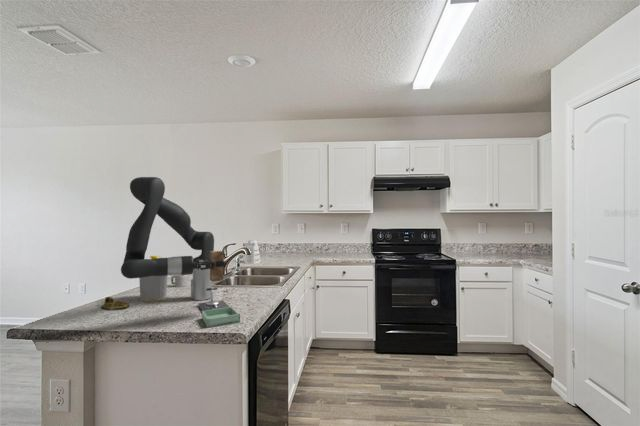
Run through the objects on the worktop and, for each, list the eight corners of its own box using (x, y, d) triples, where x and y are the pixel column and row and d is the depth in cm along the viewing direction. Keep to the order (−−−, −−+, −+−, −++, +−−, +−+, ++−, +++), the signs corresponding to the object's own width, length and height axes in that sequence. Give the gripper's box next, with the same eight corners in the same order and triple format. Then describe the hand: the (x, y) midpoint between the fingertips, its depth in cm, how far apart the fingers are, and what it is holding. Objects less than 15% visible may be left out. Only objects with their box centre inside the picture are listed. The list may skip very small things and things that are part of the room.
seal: (135, 309, 145) (114, 305, 151) (137, 298, 145) (115, 295, 151) (115, 312, 136) (93, 308, 142) (117, 301, 137) (95, 297, 143)
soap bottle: (170, 298, 158) (170, 256, 158) (140, 302, 150) (140, 258, 151) (165, 293, 168) (166, 253, 169) (137, 297, 161) (137, 255, 161)
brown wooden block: (212, 281, 131) (212, 252, 131) (209, 279, 135) (210, 251, 135) (223, 280, 133) (223, 251, 133) (220, 278, 137) (221, 250, 137)
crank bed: (204, 314, 131) (204, 295, 131) (198, 305, 145) (198, 288, 145) (231, 310, 137) (231, 292, 137) (222, 302, 151) (222, 285, 151)
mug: (189, 285, 191) (189, 274, 191) (182, 287, 184) (182, 276, 184) (175, 284, 193) (175, 273, 193) (167, 286, 186) (167, 275, 186)
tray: (207, 327, 116) (207, 319, 116) (201, 318, 126) (201, 311, 126) (240, 322, 122) (240, 314, 122) (232, 314, 132) (232, 306, 132)
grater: (254, 263, 279) (254, 241, 279) (244, 263, 283) (244, 240, 283) (260, 262, 289) (260, 240, 289) (250, 261, 293) (250, 240, 293)
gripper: (181, 258, 121) (227, 255, 129) (178, 254, 134) (219, 252, 142) (181, 278, 121) (227, 274, 129) (177, 272, 133) (219, 269, 142)
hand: (223, 263), depth 136 cm, fingers closed on brown wooden block, 4 cm apart
